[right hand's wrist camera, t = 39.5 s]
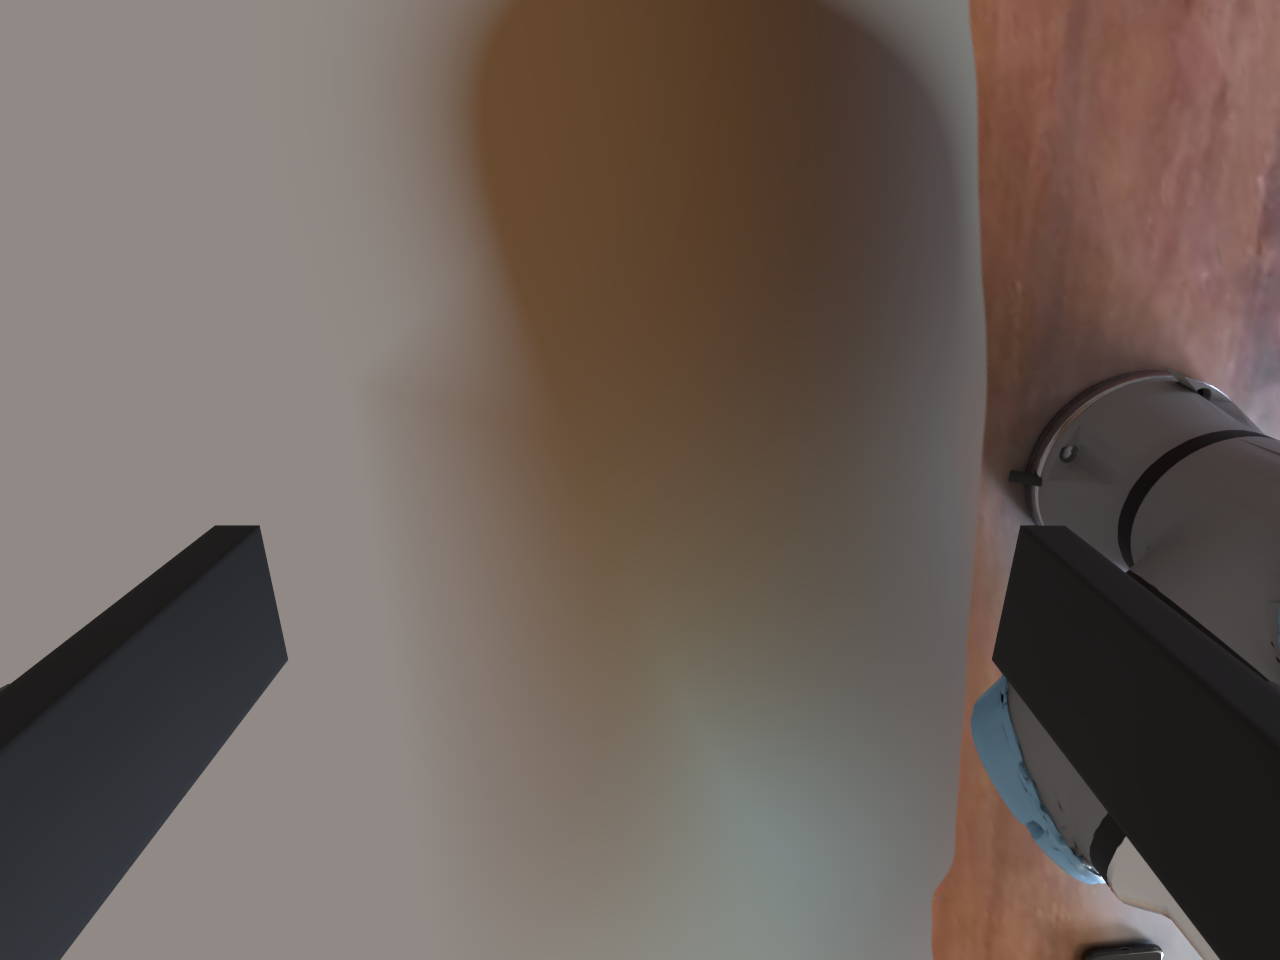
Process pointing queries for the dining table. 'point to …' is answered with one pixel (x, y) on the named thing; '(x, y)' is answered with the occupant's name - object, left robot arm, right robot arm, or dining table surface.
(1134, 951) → the smartphone
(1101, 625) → the right robot arm
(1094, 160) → the dining table surface
